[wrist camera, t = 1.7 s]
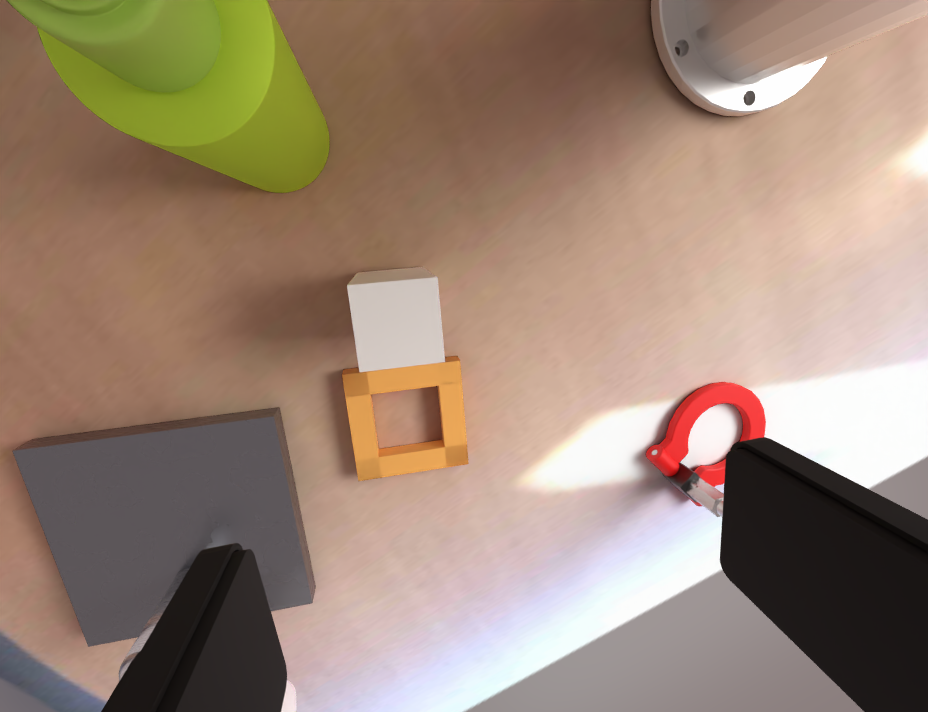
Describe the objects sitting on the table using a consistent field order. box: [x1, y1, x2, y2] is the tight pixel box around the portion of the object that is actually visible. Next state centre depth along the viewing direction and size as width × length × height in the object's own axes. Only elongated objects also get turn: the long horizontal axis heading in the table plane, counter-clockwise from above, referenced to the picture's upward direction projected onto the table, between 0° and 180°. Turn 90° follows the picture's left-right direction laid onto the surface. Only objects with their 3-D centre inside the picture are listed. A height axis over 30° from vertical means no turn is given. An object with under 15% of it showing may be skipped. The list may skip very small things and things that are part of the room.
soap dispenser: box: [7, 0, 330, 193], centre depth 15 cm, size 6×7×20 cm
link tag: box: [342, 267, 468, 481], centre depth 25 cm, size 13×7×8 cm, turn 4°
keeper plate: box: [13, 408, 316, 681], centre depth 25 cm, size 14×14×8 cm
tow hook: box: [646, 382, 766, 517], centre depth 29 cm, size 8×13×9 cm
